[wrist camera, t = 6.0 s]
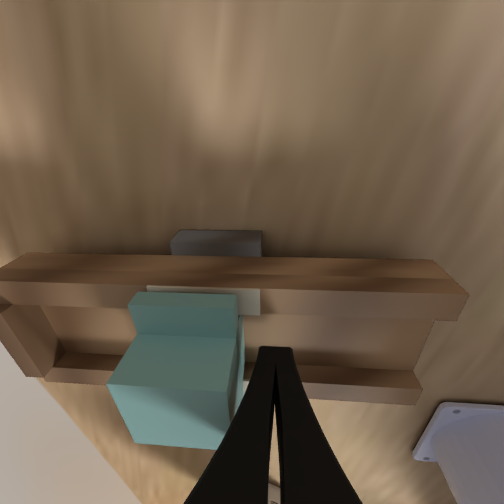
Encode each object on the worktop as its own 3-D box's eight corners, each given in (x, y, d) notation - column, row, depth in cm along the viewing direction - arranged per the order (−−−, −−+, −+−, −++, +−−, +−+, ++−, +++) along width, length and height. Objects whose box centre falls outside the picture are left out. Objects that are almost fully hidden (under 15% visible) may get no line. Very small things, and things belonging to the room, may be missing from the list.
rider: (240, 276, 11) (222, 359, 7) (246, 376, 14) (236, 468, 10) (151, 274, 11) (90, 352, 8) (177, 372, 14) (143, 460, 11)
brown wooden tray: (420, 232, 12) (489, 289, 8) (382, 349, 16) (417, 426, 12) (44, 228, 14) (-48, 274, 10) (94, 335, 18) (42, 399, 14)
